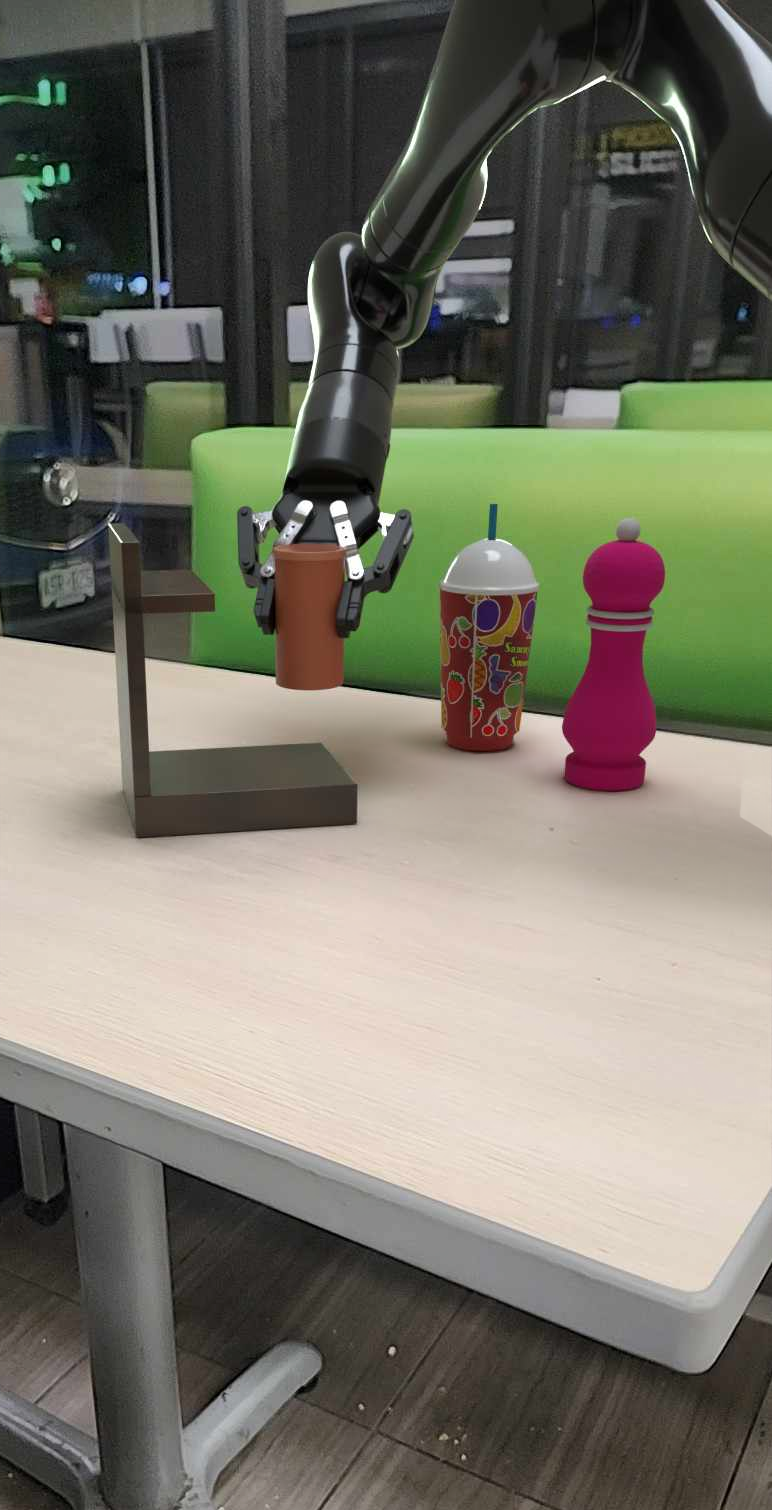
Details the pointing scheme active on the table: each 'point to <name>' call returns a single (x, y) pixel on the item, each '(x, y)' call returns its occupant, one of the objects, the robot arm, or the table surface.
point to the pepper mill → (615, 667)
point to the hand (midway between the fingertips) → (304, 629)
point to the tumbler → (308, 616)
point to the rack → (211, 780)
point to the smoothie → (485, 642)
